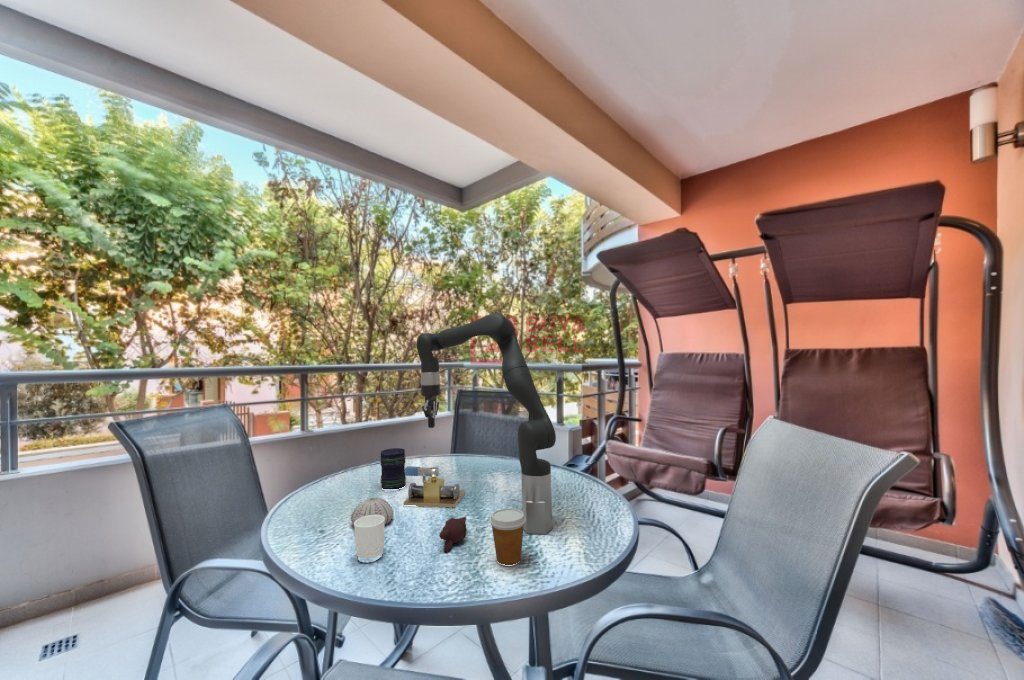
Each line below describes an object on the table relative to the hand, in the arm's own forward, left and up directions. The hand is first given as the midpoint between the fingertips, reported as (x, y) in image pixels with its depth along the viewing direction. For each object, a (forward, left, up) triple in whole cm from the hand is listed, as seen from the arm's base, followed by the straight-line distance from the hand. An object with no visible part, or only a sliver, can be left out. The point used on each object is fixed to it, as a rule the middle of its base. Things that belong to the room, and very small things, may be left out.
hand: (431, 427), depth 160 cm
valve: (-8, -4, -25) cm, 27 cm away
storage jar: (+4, +18, -26) cm, 32 cm away
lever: (-8, +1, -16) cm, 18 cm away
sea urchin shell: (-29, +10, -26) cm, 40 cm away
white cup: (-50, 0, -26) cm, 56 cm away
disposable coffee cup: (-48, -38, -26) cm, 66 cm away
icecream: (-38, -20, -26) cm, 51 cm away
